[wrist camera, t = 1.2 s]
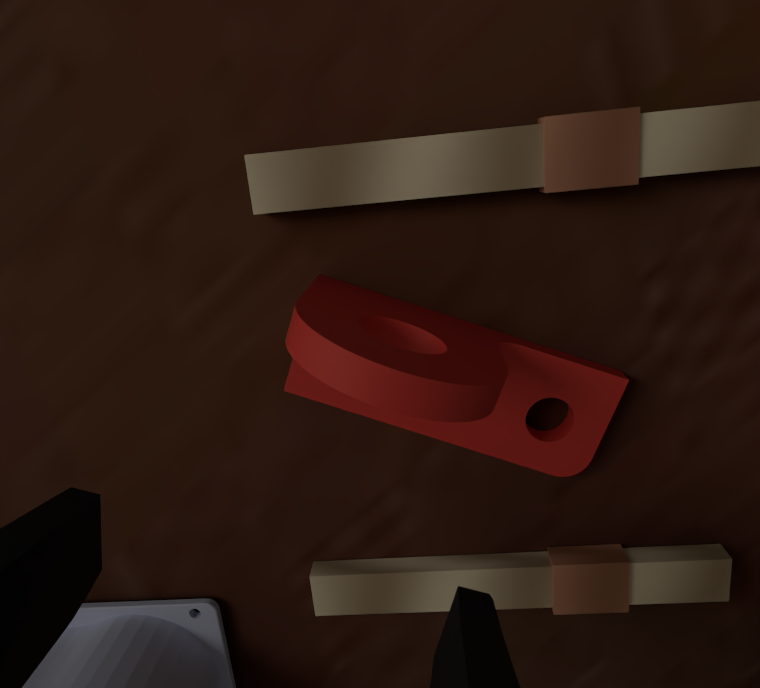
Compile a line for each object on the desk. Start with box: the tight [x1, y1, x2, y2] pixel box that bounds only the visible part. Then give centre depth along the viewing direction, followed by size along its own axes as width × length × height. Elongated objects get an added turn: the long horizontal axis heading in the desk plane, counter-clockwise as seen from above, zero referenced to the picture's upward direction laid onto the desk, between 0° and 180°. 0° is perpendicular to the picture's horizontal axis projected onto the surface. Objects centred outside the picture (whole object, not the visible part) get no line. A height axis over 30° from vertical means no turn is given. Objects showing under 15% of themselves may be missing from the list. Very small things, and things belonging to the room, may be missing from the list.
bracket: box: [284, 274, 629, 477], centre depth 20 cm, size 12×4×8 cm, turn 73°
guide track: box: [244, 101, 760, 616], centre depth 23 cm, size 17×19×1 cm
